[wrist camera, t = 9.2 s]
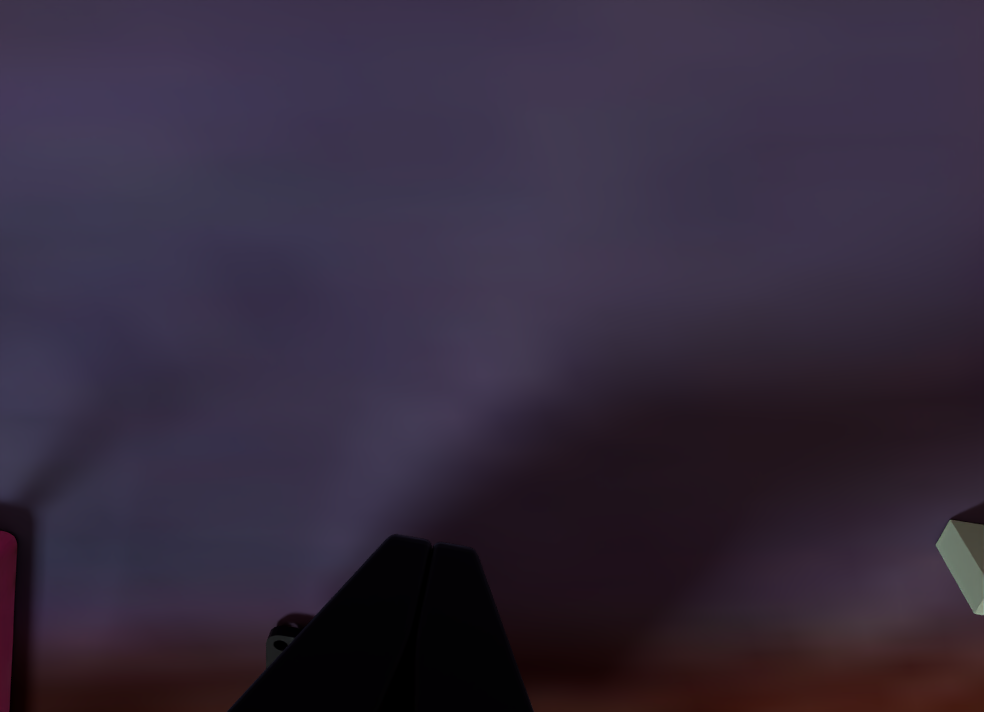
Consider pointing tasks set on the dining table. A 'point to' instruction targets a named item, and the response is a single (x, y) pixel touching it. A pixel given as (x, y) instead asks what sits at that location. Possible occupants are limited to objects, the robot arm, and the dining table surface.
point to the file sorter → (6, 613)
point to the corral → (965, 559)
